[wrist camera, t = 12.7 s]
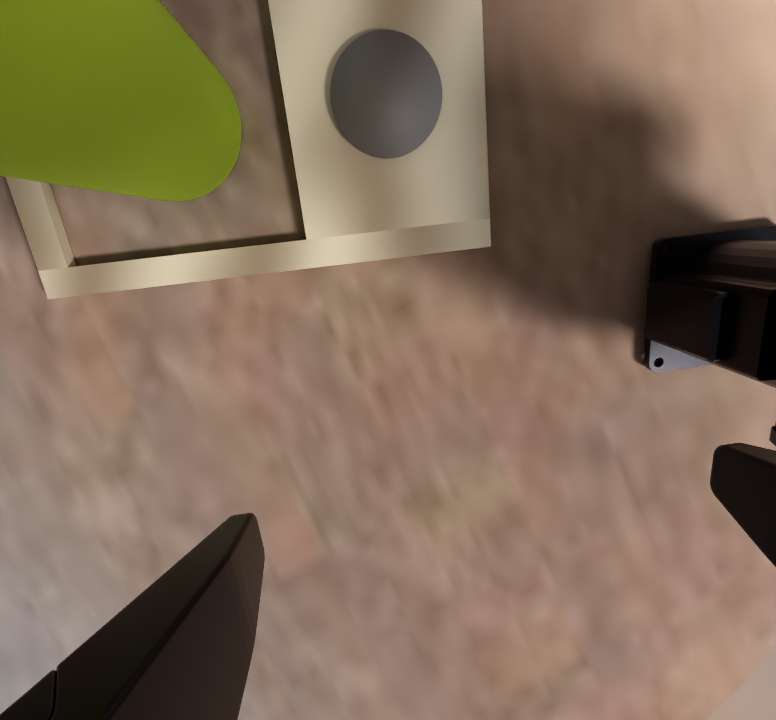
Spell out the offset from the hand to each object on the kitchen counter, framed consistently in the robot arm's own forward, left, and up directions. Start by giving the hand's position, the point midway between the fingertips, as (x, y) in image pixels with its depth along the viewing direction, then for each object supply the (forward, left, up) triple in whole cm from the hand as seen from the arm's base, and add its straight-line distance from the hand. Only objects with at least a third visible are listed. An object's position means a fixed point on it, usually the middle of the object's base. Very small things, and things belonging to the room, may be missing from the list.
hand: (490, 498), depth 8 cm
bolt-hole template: (+6, -10, -13) cm, 17 cm away
